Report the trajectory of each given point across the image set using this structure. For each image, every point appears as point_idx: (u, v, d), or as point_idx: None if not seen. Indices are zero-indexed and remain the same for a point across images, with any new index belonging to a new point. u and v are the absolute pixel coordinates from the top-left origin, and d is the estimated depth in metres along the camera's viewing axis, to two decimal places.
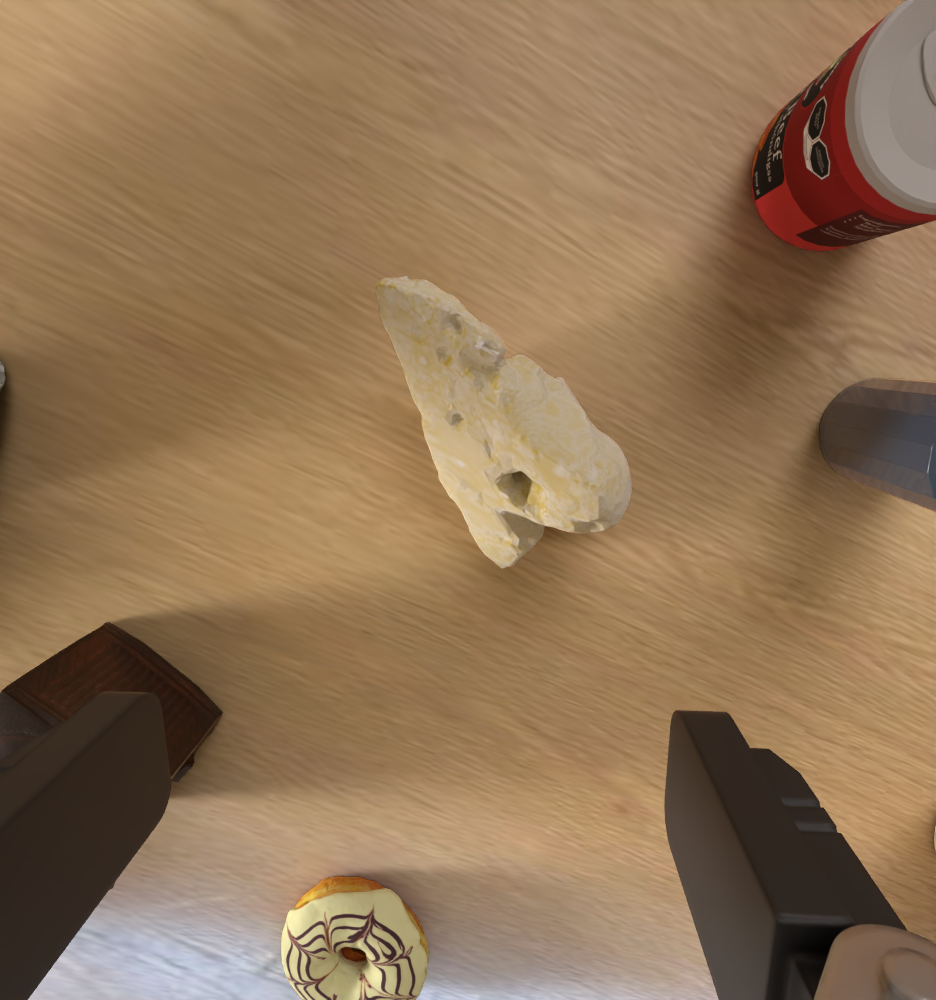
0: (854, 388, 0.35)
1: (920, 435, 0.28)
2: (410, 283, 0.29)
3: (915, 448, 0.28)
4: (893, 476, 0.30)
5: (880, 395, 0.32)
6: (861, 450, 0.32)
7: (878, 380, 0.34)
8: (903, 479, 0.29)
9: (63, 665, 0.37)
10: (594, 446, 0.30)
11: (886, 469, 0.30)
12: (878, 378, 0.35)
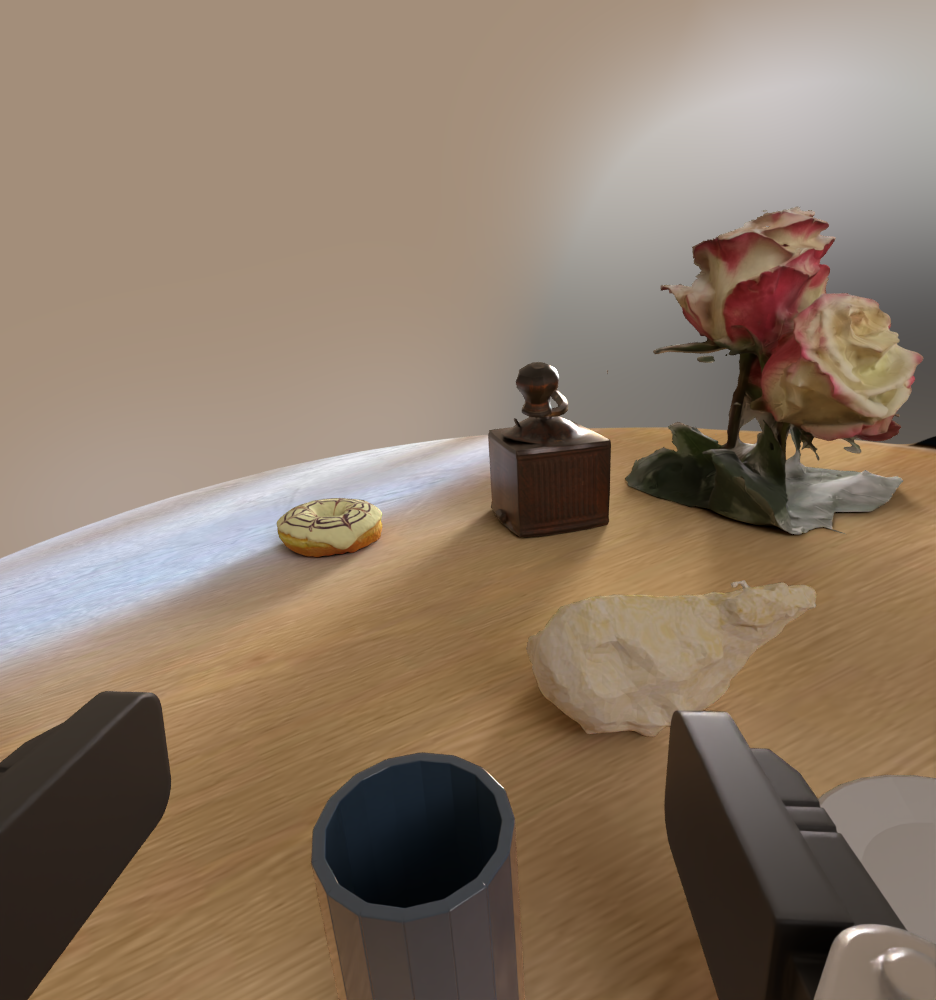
0: None
1: None
2: (808, 596, 0.35)
3: None
4: None
5: None
6: None
7: None
8: None
9: (602, 477, 0.64)
10: (621, 634, 0.33)
11: None
12: None
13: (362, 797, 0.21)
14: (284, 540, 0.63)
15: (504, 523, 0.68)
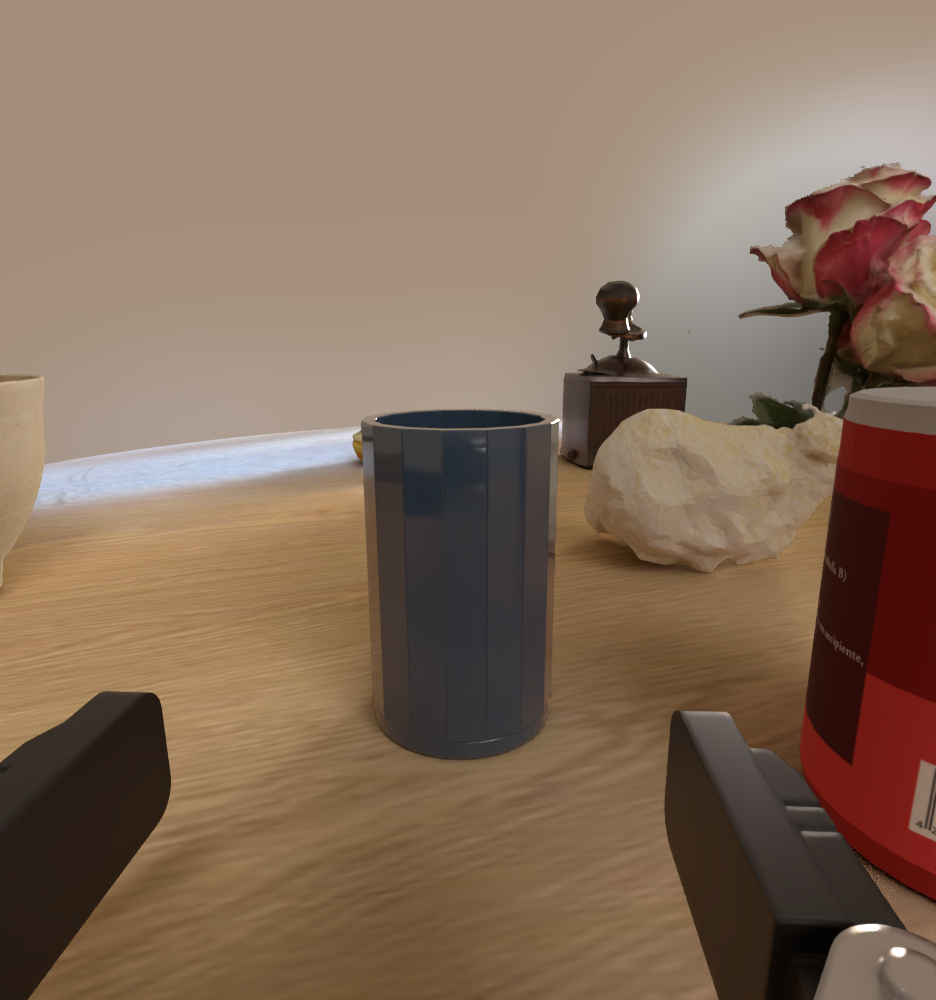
0: None
1: None
2: None
3: None
4: None
5: None
6: None
7: (546, 688, 0.20)
8: None
9: None
10: (682, 441, 0.32)
11: None
12: (542, 709, 0.20)
13: None
14: (358, 449, 0.66)
15: (572, 459, 0.68)
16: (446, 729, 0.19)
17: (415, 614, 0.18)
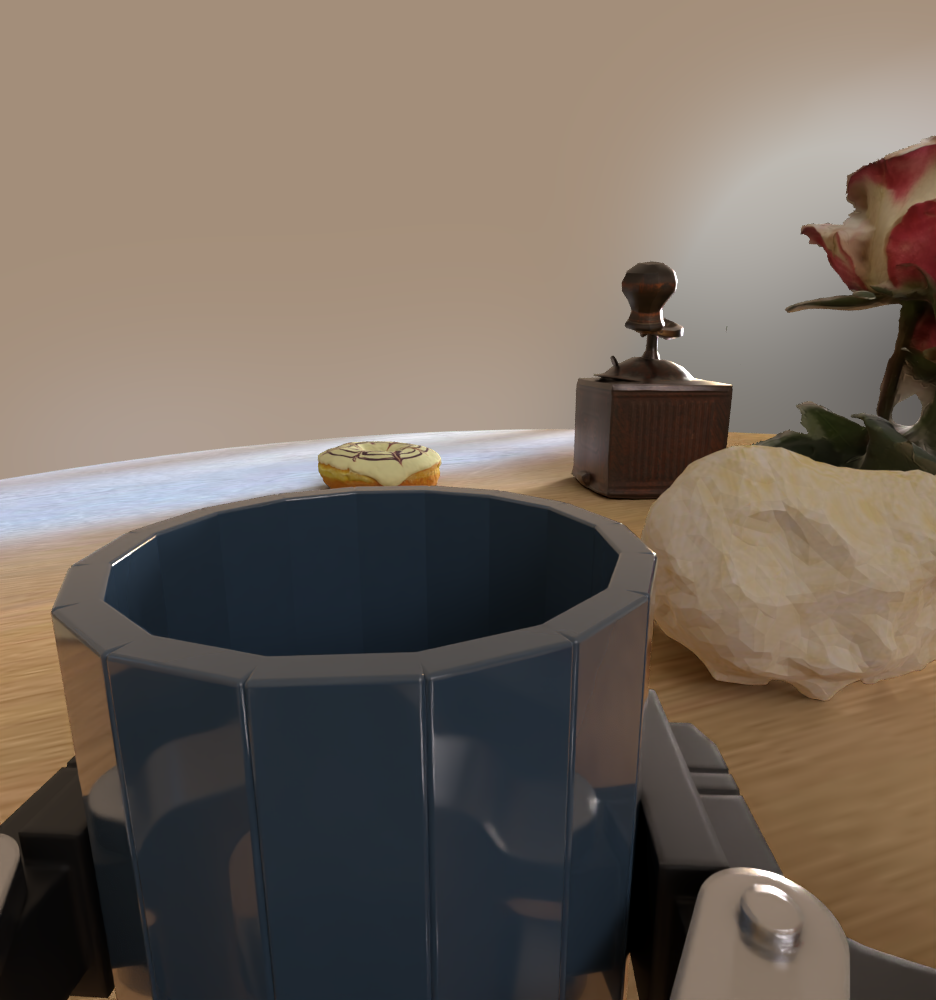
0: None
1: None
2: None
3: None
4: None
5: None
6: None
7: None
8: None
9: (718, 432, 0.51)
10: (794, 501, 0.20)
11: None
12: None
13: (284, 541, 0.09)
14: (323, 473, 0.53)
15: (587, 485, 0.55)
16: None
17: None
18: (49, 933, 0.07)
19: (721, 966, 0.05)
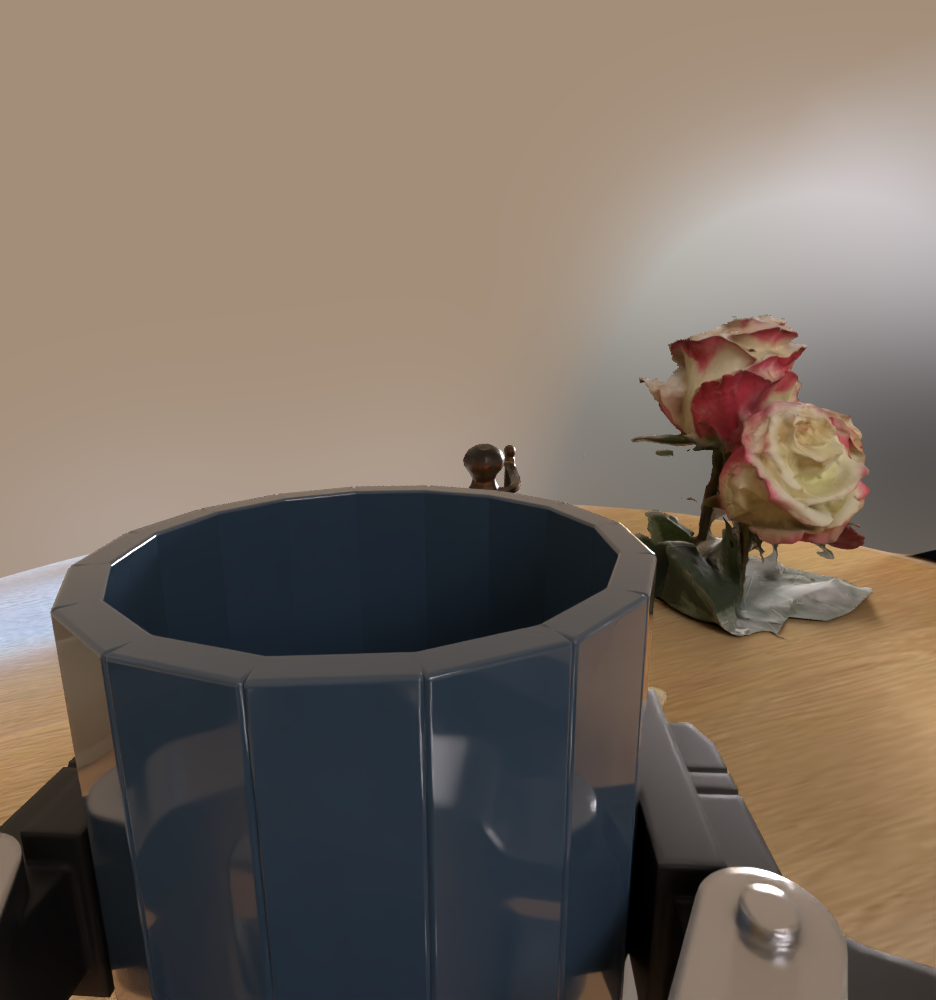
0: None
1: None
2: None
3: None
4: None
5: None
6: None
7: None
8: None
9: None
10: None
11: None
12: None
13: (283, 541, 0.09)
14: None
15: None
16: None
17: None
18: (51, 932, 0.07)
19: (719, 966, 0.05)
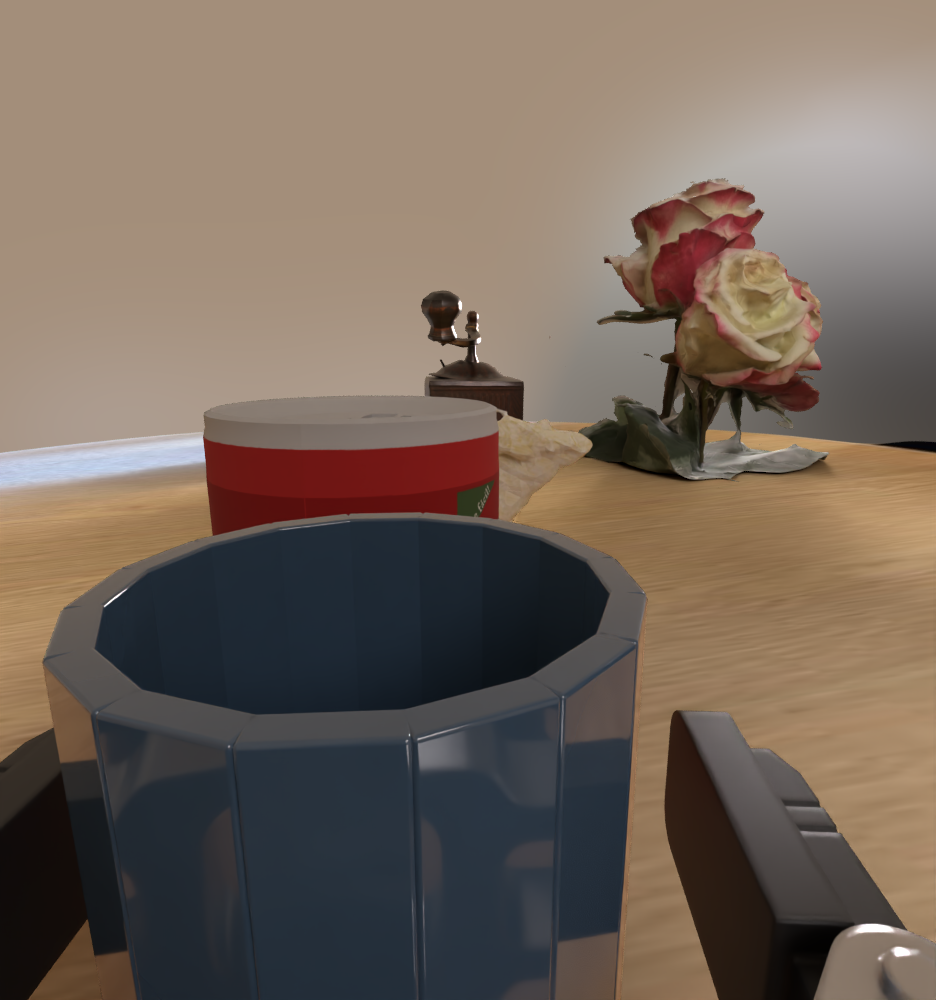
0: None
1: None
2: (576, 440, 0.37)
3: None
4: None
5: None
6: None
7: None
8: None
9: (514, 417, 0.67)
10: None
11: None
12: None
13: (277, 570, 0.09)
14: None
15: None
16: None
17: None
18: None
19: None
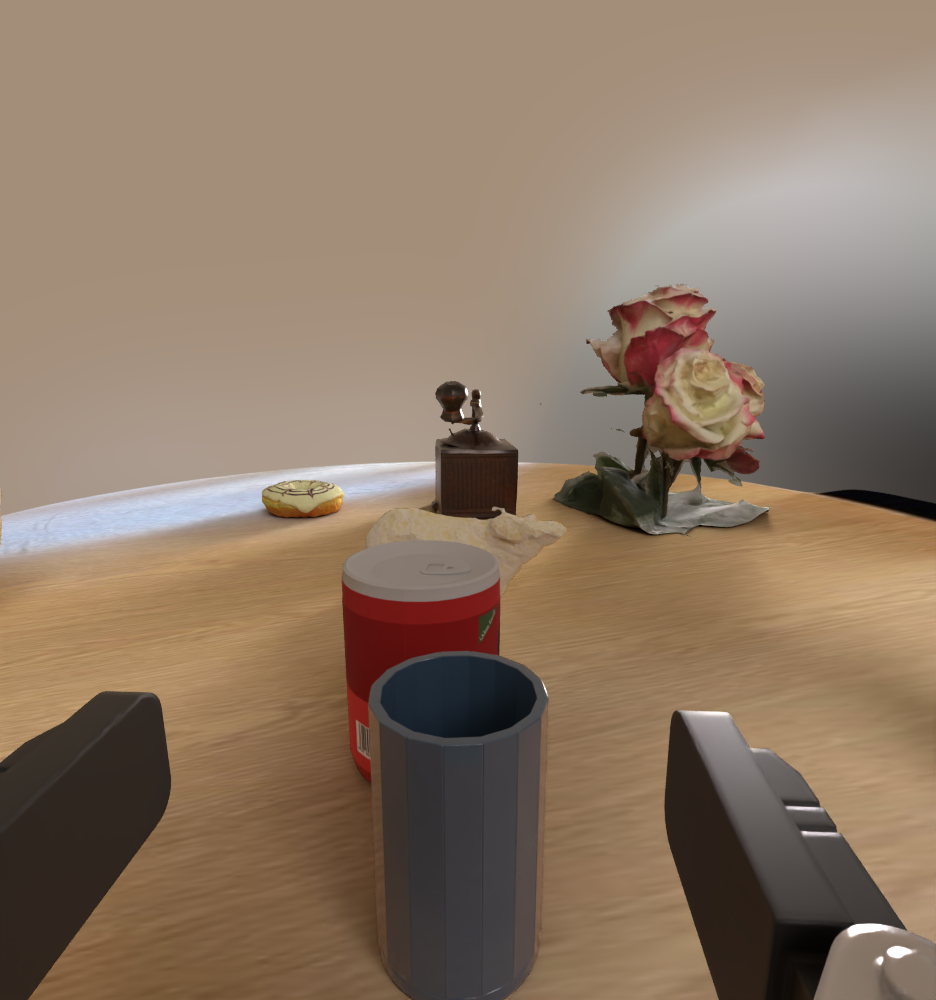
0: (541, 917, 0.23)
1: None
2: (554, 528, 0.52)
3: None
4: None
5: None
6: None
7: (536, 932, 0.22)
8: None
9: (511, 479, 0.82)
10: (413, 531, 0.50)
11: None
12: (533, 952, 0.22)
13: (415, 678, 0.23)
14: (264, 502, 0.84)
15: (436, 510, 0.86)
16: (444, 987, 0.21)
17: (417, 889, 0.20)
18: None
19: None
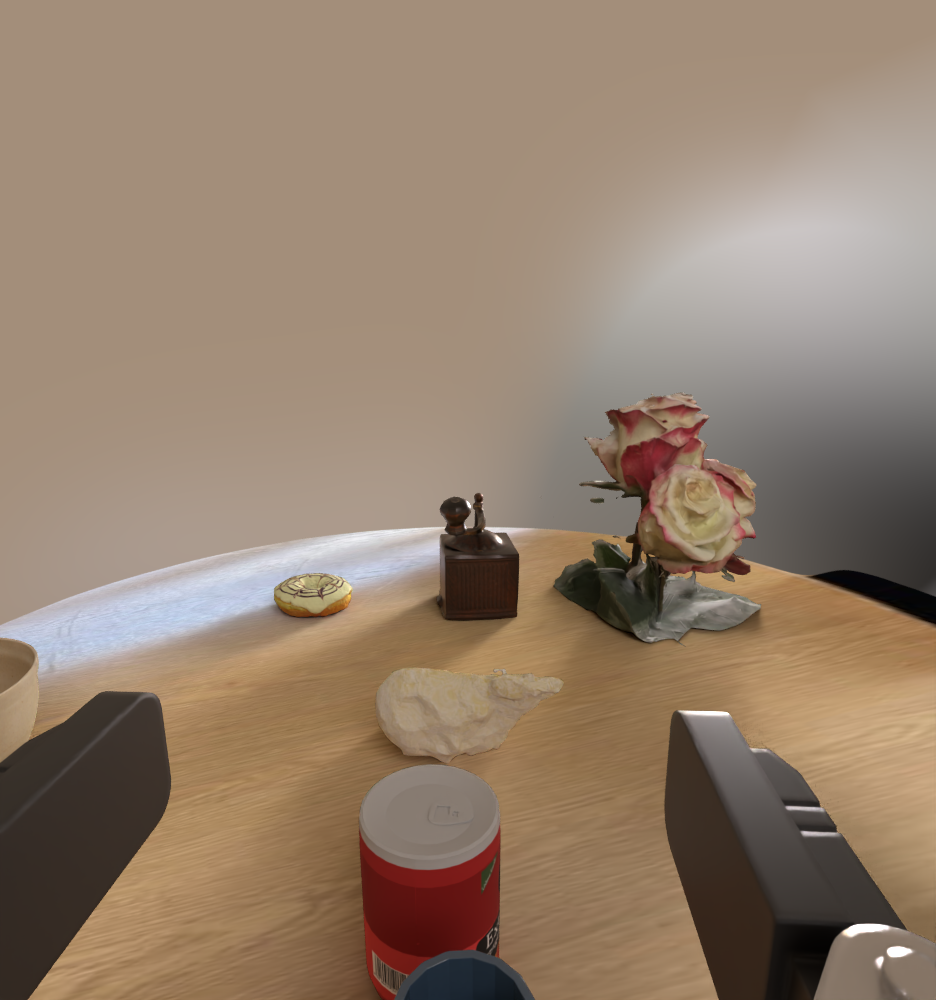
0: None
1: None
2: (552, 684, 0.55)
3: None
4: None
5: None
6: None
7: None
8: None
9: (512, 581, 0.85)
10: (420, 692, 0.54)
11: None
12: None
13: (426, 982, 0.27)
14: (276, 602, 0.87)
15: (440, 607, 0.89)
16: None
17: None
18: None
19: None
